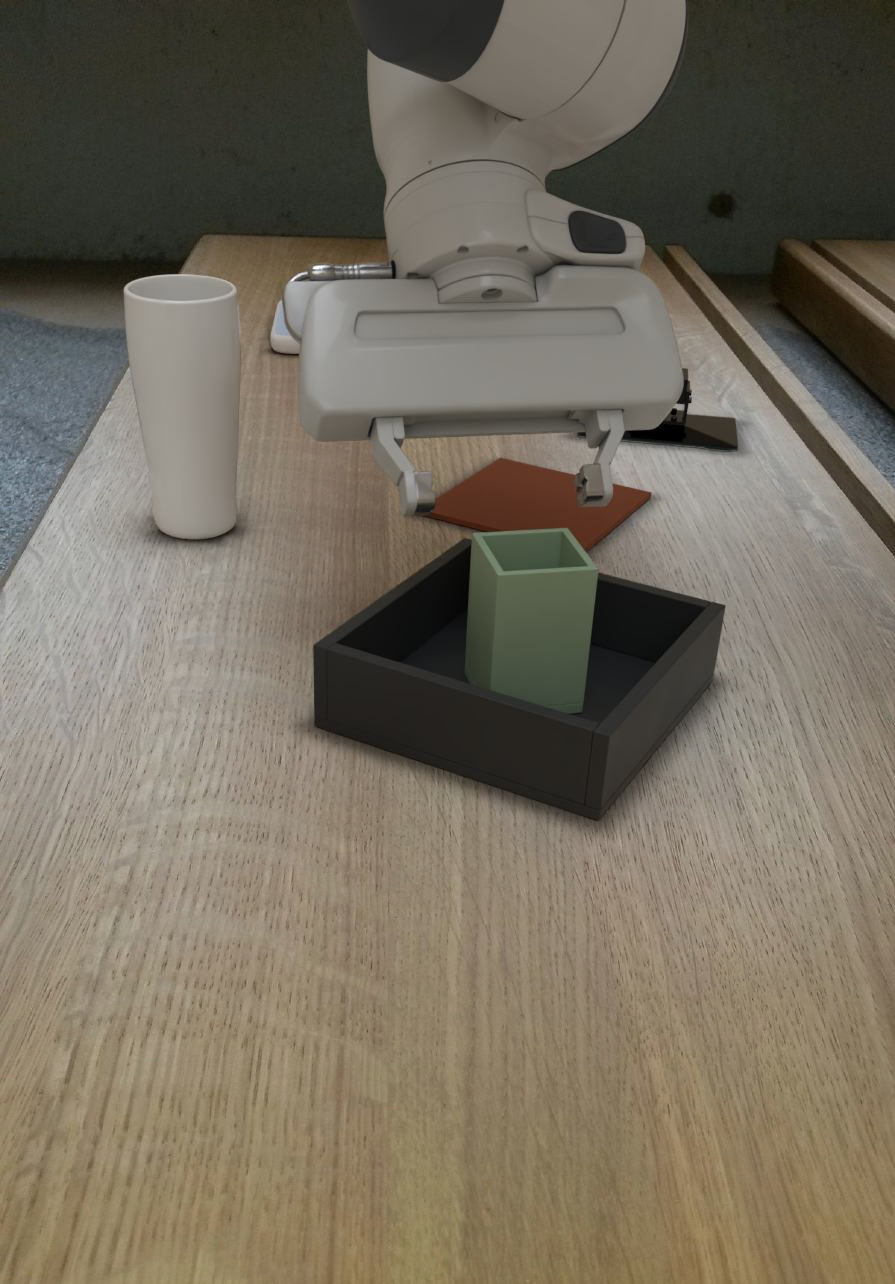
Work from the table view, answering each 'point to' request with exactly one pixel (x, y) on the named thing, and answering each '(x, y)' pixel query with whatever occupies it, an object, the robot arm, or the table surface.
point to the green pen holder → (531, 616)
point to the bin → (507, 726)
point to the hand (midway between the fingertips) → (509, 507)
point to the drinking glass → (187, 397)
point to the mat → (533, 502)
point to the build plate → (688, 428)
